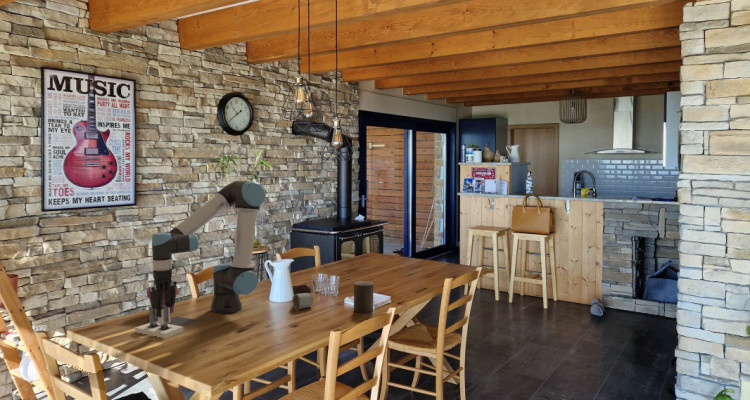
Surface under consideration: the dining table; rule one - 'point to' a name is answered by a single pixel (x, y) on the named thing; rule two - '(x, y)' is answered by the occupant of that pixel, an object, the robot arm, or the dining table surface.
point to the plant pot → (163, 298)
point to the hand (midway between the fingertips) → (164, 322)
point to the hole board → (159, 330)
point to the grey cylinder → (302, 301)
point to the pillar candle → (363, 297)
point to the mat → (180, 321)
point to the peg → (165, 325)
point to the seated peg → (152, 317)
